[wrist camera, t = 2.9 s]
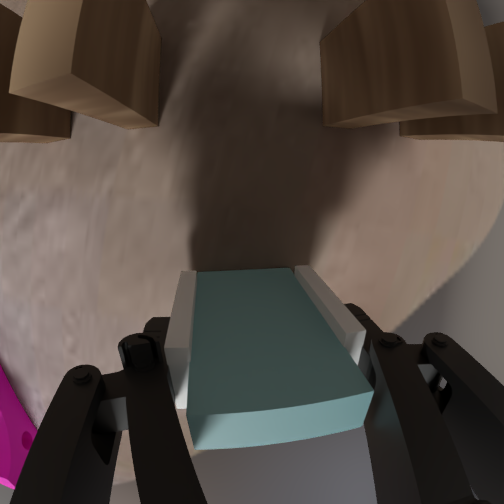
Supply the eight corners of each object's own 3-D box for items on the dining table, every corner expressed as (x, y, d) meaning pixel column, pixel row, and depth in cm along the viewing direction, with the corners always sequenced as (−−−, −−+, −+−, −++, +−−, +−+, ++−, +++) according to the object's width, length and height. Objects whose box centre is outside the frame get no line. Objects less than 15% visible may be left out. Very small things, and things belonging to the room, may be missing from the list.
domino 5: (399, 135, 15) (544, 139, 6) (395, 59, 14) (522, 16, 4) (419, 139, 15) (558, 148, 6) (415, 65, 14) (541, 34, 4)
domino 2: (127, 129, 13) (9, 93, 4) (132, 42, 12) (55, -67, 2) (158, 126, 13) (70, 73, 4) (161, 38, 12) (111, -86, 2)
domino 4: (322, 126, 14) (462, 98, 5) (319, 42, 13) (429, -48, 4) (349, 128, 15) (497, 113, 5) (346, 47, 13) (466, -27, 4)
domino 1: (46, 143, 13) (-93, 147, 3) (52, 60, 11) (-63, 5, 2) (70, 138, 13) (-71, 133, 3) (75, 54, 11) (-34, -17, 2)
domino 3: (197, 272, 16) (186, 415, 6) (289, 267, 17) (374, 390, 7) (199, 299, 16) (194, 449, 7) (288, 293, 17) (361, 426, 8)
